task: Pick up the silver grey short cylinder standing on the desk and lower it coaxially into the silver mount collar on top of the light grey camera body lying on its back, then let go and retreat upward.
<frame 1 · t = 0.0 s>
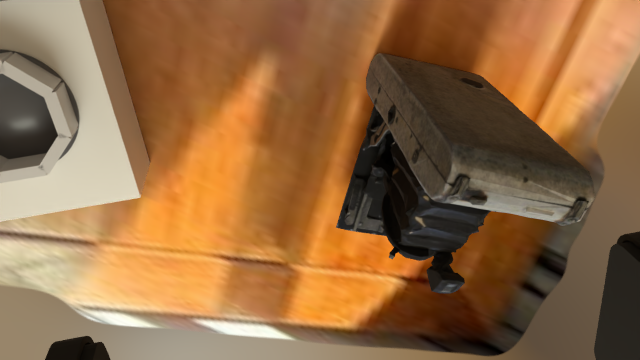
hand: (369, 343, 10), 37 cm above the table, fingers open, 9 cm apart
vintage camera: (398, 140, 50), on the table
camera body: (28, 59, 42), on the table
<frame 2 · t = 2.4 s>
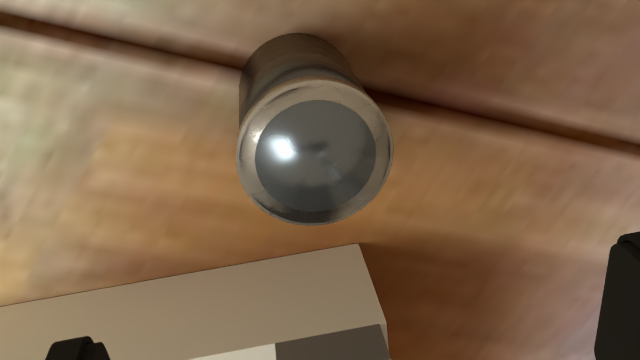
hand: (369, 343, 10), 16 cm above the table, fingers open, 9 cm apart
silver grey short cylinder: (296, 90, 25), on the table
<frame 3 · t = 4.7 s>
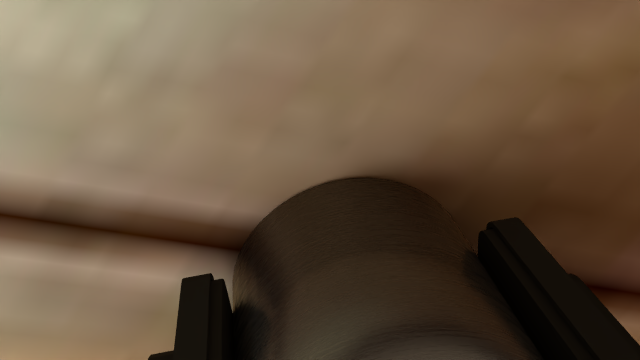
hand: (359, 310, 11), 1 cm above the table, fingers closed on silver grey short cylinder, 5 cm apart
silver grey short cylinder: (351, 281, 12), on the table, touching gripper
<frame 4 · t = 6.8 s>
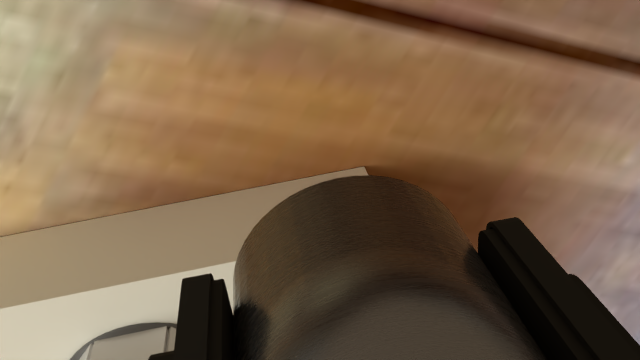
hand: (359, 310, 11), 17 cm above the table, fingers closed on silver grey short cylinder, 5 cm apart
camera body: (202, 300, 32), on the table
silver grey short cylinder: (352, 279, 12), point 16 cm above the table, touching gripper
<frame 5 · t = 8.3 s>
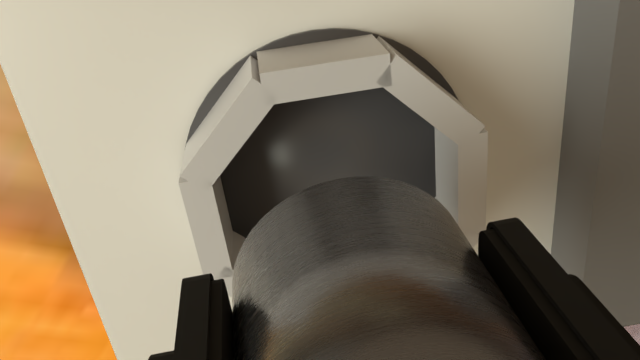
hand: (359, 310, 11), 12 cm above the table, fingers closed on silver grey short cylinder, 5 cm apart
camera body: (357, 97, 22), on the table
silver grey short cylinder: (351, 280, 12), point 12 cm above the table, touching gripper
when the fingers open (9 cm above the table, at t = 9.3 s): silver grey short cylinder drops 2 cm, resting on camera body.
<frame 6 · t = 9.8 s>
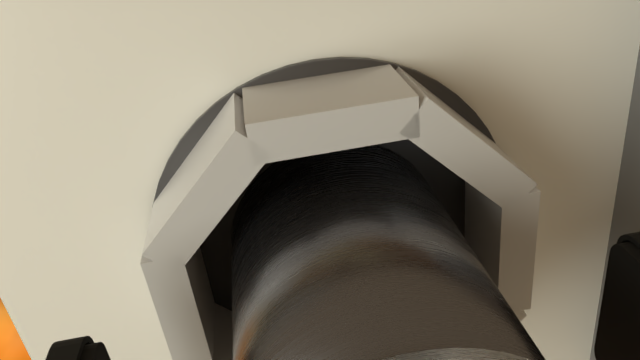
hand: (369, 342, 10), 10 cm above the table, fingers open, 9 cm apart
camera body: (362, 125, 19), on the table
silver grey short cylinder: (336, 235, 13), point 6 cm above the table, touching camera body
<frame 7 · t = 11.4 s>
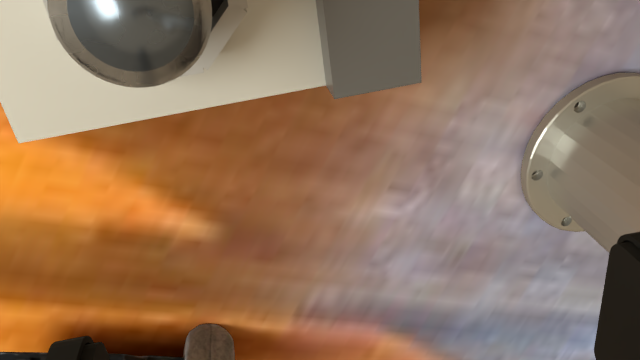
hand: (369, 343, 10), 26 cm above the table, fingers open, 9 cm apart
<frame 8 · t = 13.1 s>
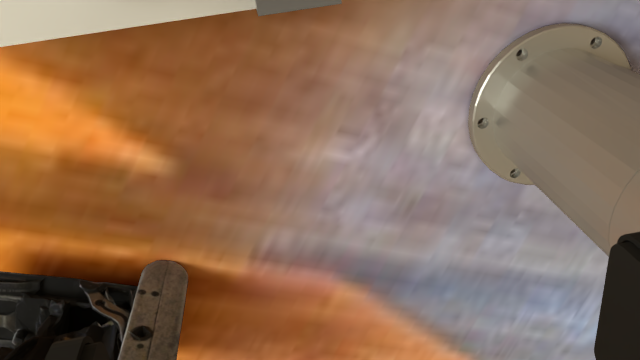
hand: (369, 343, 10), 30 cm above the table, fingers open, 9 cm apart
vintage camera: (85, 296, 45), on the table
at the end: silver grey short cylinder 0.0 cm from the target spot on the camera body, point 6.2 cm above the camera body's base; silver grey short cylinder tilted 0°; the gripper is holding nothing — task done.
